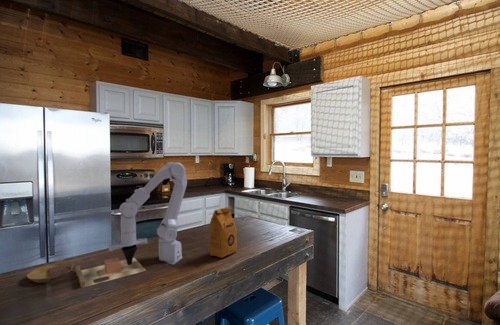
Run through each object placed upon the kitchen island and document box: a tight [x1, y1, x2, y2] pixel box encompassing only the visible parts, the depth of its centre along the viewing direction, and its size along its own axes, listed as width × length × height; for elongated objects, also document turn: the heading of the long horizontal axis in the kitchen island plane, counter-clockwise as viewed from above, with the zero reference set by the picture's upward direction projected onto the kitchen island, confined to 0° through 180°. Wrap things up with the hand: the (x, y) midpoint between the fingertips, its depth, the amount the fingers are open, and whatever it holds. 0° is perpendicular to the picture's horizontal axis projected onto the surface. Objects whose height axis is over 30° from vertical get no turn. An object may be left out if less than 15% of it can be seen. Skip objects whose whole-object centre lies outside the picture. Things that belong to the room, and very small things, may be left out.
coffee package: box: [208, 206, 238, 258], centre depth 128 cm, size 10×12×22 cm
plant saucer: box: [26, 262, 74, 284], centre depth 107 cm, size 15×15×3 cm
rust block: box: [103, 257, 122, 274], centre depth 108 cm, size 5×5×4 cm
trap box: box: [75, 257, 147, 289], centre depth 108 cm, size 22×17×3 cm
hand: (129, 263), depth 112 cm, fingers closed
